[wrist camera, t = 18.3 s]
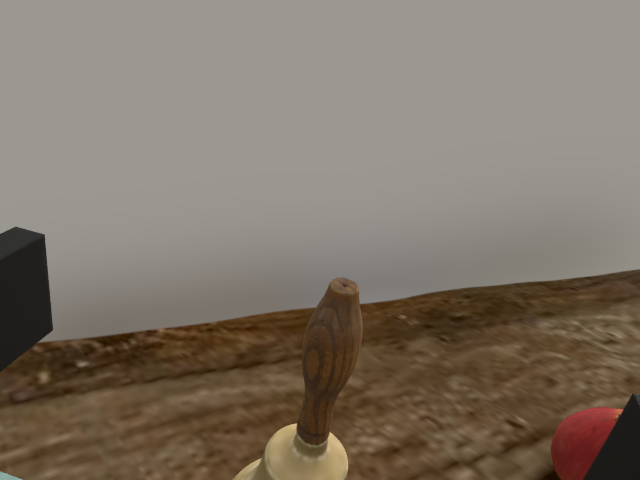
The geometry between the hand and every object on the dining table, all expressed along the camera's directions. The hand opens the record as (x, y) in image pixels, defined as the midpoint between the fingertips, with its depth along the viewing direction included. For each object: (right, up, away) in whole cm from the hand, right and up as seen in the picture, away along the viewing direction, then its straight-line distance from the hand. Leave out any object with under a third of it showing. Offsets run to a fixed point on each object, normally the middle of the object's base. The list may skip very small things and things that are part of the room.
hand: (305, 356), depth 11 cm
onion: (+18, -15, +22) cm, 32 cm away
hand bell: (-1, -13, +17) cm, 22 cm away
